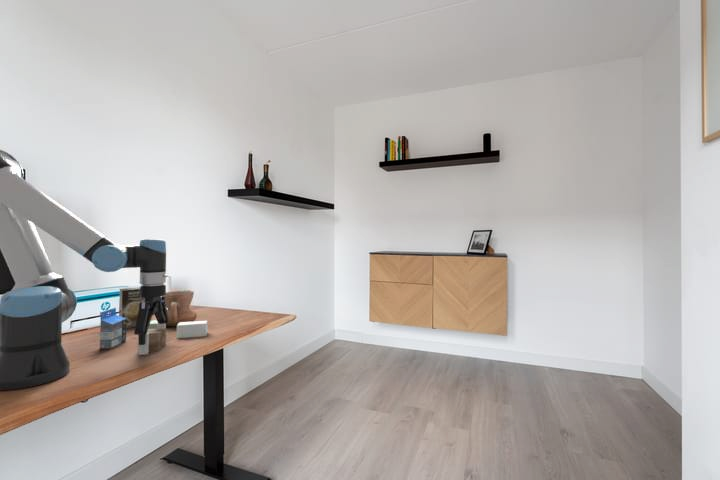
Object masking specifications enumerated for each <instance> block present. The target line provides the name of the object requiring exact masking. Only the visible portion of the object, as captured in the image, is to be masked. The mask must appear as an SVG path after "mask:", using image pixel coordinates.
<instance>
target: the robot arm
mask: <svg viewBox="0 0 720 480" xmlns="http://www.w3.org/2000/svg"><path fill="white" fill-rule="evenodd" d="M24 176H25V175H24V169H23V167H22V165H21V164H20V162H19V161H18V159H16V158H15V157H14V156H13V155H12V154H9V153H8V152H6V151H4V150H3V149H0V252H1V254H2V256H3V258H4V260H5V262H6V265H7V267H8V268H9V269H8V270H9V272H10V274H11V276H12V278H13V281H14V285H13V287H12V289H11V290H10V291H7V292H5V293H4V294H2V296H0V391H14V390H19V389H21V390H22V389H26V388H30V387H31V388H32V387H36V386H40V385H43V384H47V383H49V382H53V381H56V380H58V379H60V378H63V377H64V376H66V375H68V374H69V372H70V371H71V370H70V368H71V367H70V361H69V359H68V356H67V354H66V352H65V349H64V347H63V344H62V337H63V336H62V335H63V333H62V332H63V331H62V330H63V329H62V328H63V327H62V326H63V323H64V322H65V321H67V320H68V319H70V317H72V315H73V314H74V313H75V310H76V308H77V305H78V299H77V298H78V297H77V296H76V294H75V293H74V291H73V290H72V289H70V288H69V287H68V284H67V281H66V280H65V277H64V276H63V275H61V274H57V273H56V272H55V271H54V268H53V265H52V263H51V261H50V259H49V257H48V255H47V252H46V250H45V247H44V245H43V242H42V240H41V238H40V235H39V233H38V231H37V229H36V227H38V228H39V229H41V230H42V231H44V232H45V233H46V234H49V235H50V236H51V237H53V238H54V239H56V240H57V241H59V242H61V243H62V244H64V245H65V246H66V247H68V248H70V249H71V250H73V251H75V252H76V253H77V254H79V255H80V256H82V257H83V258H85V259H86V260H87V261H89V262H91V263H92V265H94V267H95V268H96V269H97V270H99V271H101V272H104V273H113V272H117V271H119V270H121V269H132V268H139V284H140V286H139V288H140V297H144V298H145V302H140V303H139V312H138V316H137V321H136V326H135V327H134V331H133V334H134V335H135V336H137V340H138V341H137V355H138V356H141V355H142V356H143V355H149V351H148V347H149V333H147V331H148V328H149V325H150V322H151V321H152V319H153V316H155V320H157V322H158V323H159V324H157V329H165V328H167V325H166V324H165V323H168V322H169V320H168V319H169V318H168V313H167V310H168V309H167V307H166V303H165V296H164V295H165V294H166V292H167V285H166V282H167V281H166V280H167V278H168V274H167V244H166V243H167V242H166V241H165V240H164V239H160V238H159V239H158V238H156V239H155V238H152V239H151V238H150V239H148V238H145V239H144V238H143V239H140V241H139V244H134V245H133V244H132V245H131V244H130V245H129V244H117V243H115V242H114V241H112V240H111V239H109V238H108V237H106V236H105V235H104V234H102V233H101V232H99V231H98V230H96V228H94V227H92V226H90V225H89V224H87V223H86V222H85V221H83V220H82V219H80V218H79V217H77V215H75V214H73V213H72V211H69V210H68V209H67V208H65V207H64V206H62V205H61V204H59V203H58V202H57V201H55V200H54V199H52V198H51V197H50V196H48V195H47V194H45V193H44V192H43V191H41V190H40V189H38V188H37V187H35V186H34V185H33V184H31V183H30V182H29V181H28V180H27V181H26V180H25V179H24Z"/></svg>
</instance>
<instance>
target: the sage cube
mask: <svg viewBox="0 0 720 480" xmlns="http://www.w3.org/2000/svg"><path fill="white" fill-rule="evenodd" d="M157 324H159V323H158V322H157V319H154V320H152V319H151V322H150V325H149V328H148V329H157Z"/></svg>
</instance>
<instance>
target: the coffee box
mask: <svg viewBox="0 0 720 480" xmlns="http://www.w3.org/2000/svg"><path fill="white" fill-rule="evenodd" d="M118 298H119V302H118V303H119V304H118V316H121V317H123V318H126V329H130V328H131V327H132V328H135V326H136V321H137V316H138V312H139V303H140V302H145V298H144V297H140V287H129V288H128V287H127V288H119V297H118ZM132 328H131V329H132Z"/></svg>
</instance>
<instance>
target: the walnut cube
mask: <svg viewBox="0 0 720 480" xmlns="http://www.w3.org/2000/svg"><path fill="white" fill-rule="evenodd" d="M166 328H167V327H166ZM166 328H165V329H148V331H147V333H149V347H148V352H159V351H160V350H162V349H163V348H164V347H166V343H167V341H166V340H167V339H166V336H167V335H166V334H167V331H166V330H167V329H166Z"/></svg>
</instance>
